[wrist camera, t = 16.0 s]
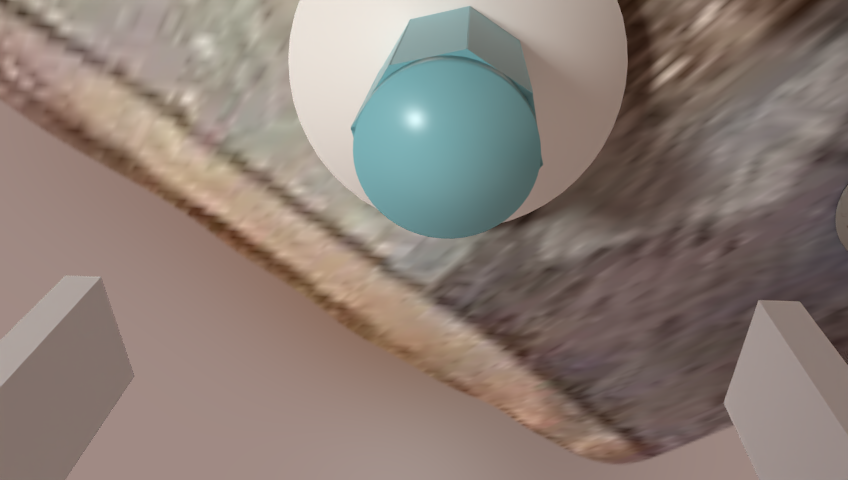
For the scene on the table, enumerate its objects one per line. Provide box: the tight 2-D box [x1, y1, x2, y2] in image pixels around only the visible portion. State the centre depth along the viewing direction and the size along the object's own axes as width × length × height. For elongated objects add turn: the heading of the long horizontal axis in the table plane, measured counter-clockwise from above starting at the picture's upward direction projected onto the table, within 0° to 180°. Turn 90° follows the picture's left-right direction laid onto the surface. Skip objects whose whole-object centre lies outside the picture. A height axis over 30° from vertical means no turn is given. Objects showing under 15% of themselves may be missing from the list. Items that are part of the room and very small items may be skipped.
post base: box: [288, 0, 628, 223], centre depth 28 cm, size 16×16×8 cm
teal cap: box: [351, 6, 543, 238], centre depth 26 cm, size 7×7×9 cm
